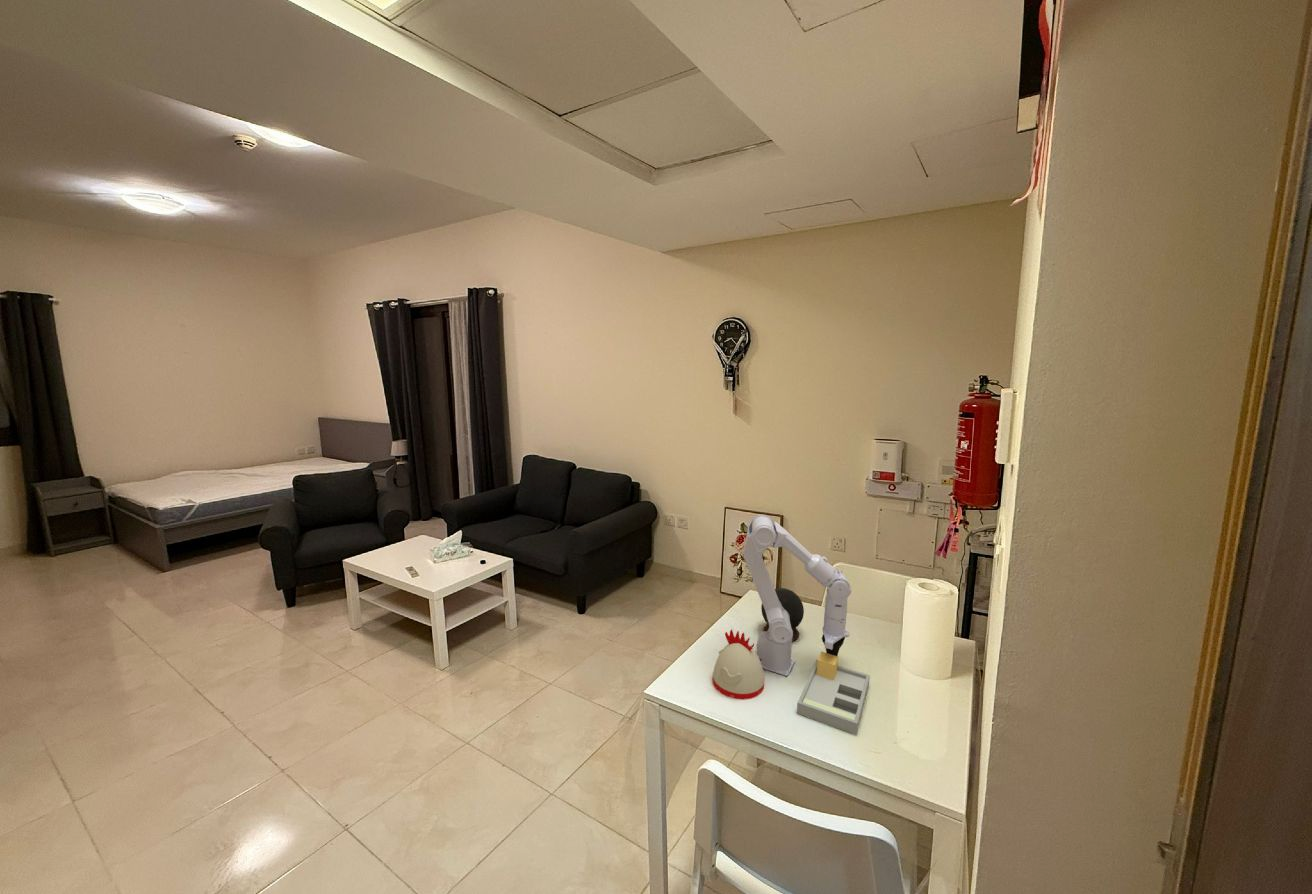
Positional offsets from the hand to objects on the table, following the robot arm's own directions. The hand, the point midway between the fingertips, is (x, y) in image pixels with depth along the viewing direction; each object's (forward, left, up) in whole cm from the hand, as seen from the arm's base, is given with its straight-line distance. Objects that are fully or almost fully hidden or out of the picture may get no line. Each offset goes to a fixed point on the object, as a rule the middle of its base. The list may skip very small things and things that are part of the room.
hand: (831, 659), depth 140 cm
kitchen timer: (-21, -18, -4) cm, 28 cm away
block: (0, -5, -1) cm, 5 cm away
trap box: (+3, -12, -3) cm, 13 cm away
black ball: (-18, +12, -4) cm, 22 cm away
